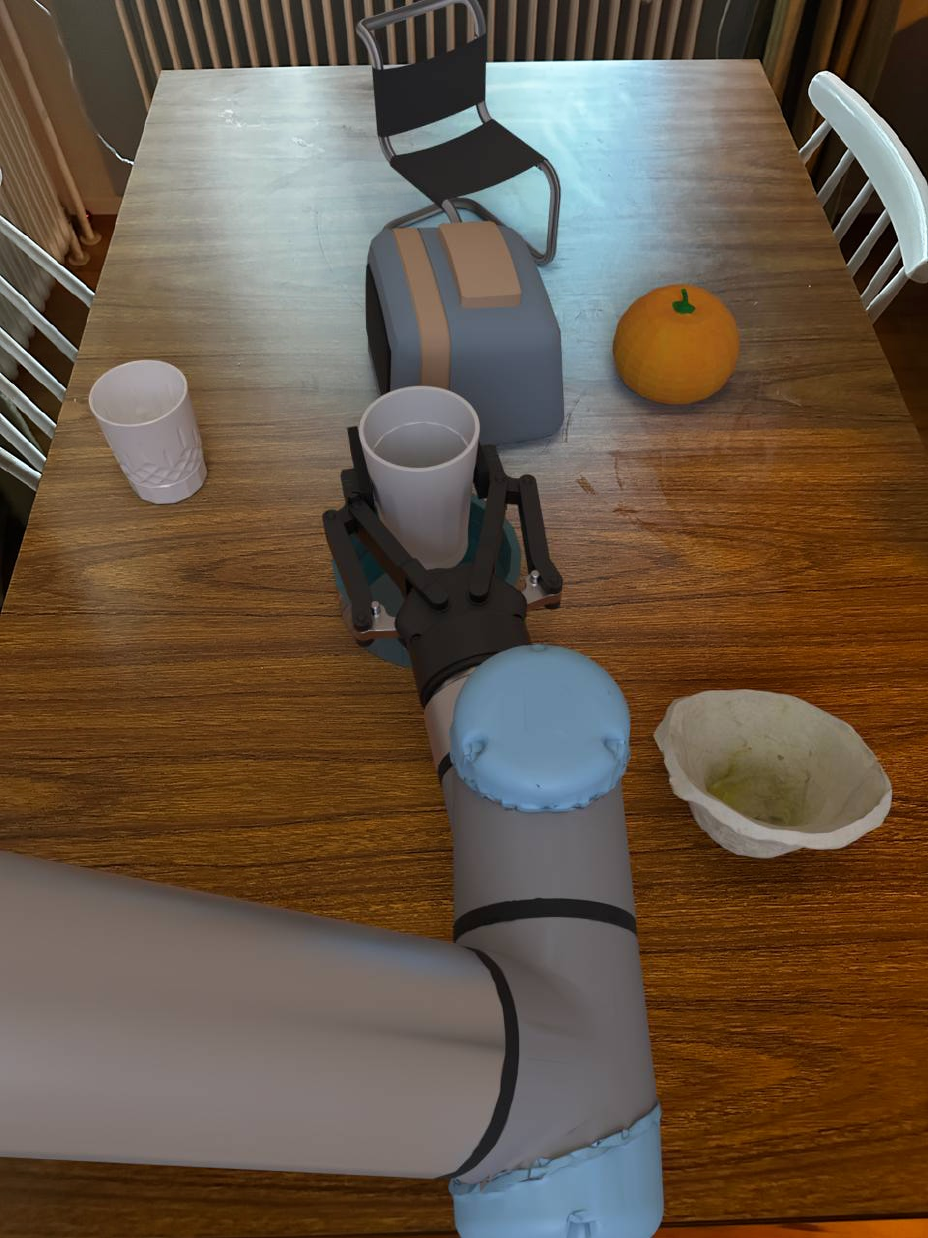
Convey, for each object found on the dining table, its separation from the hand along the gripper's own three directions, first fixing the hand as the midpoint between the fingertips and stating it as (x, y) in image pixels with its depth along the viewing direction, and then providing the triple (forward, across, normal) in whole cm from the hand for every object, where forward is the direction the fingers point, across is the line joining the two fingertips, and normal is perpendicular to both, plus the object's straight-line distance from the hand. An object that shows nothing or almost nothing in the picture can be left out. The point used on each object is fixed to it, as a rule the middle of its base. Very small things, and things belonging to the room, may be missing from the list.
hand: (408, 431), depth 70 cm
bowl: (-28, +18, -14) cm, 36 cm away
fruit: (+15, +28, -14) cm, 35 cm away
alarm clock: (+17, +8, -14) cm, 23 cm away
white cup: (+13, -20, -14) cm, 28 cm away
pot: (-5, 0, -14) cm, 14 cm away
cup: (-5, 0, -7) cm, 9 cm away
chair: (+39, +13, -14) cm, 43 cm away
